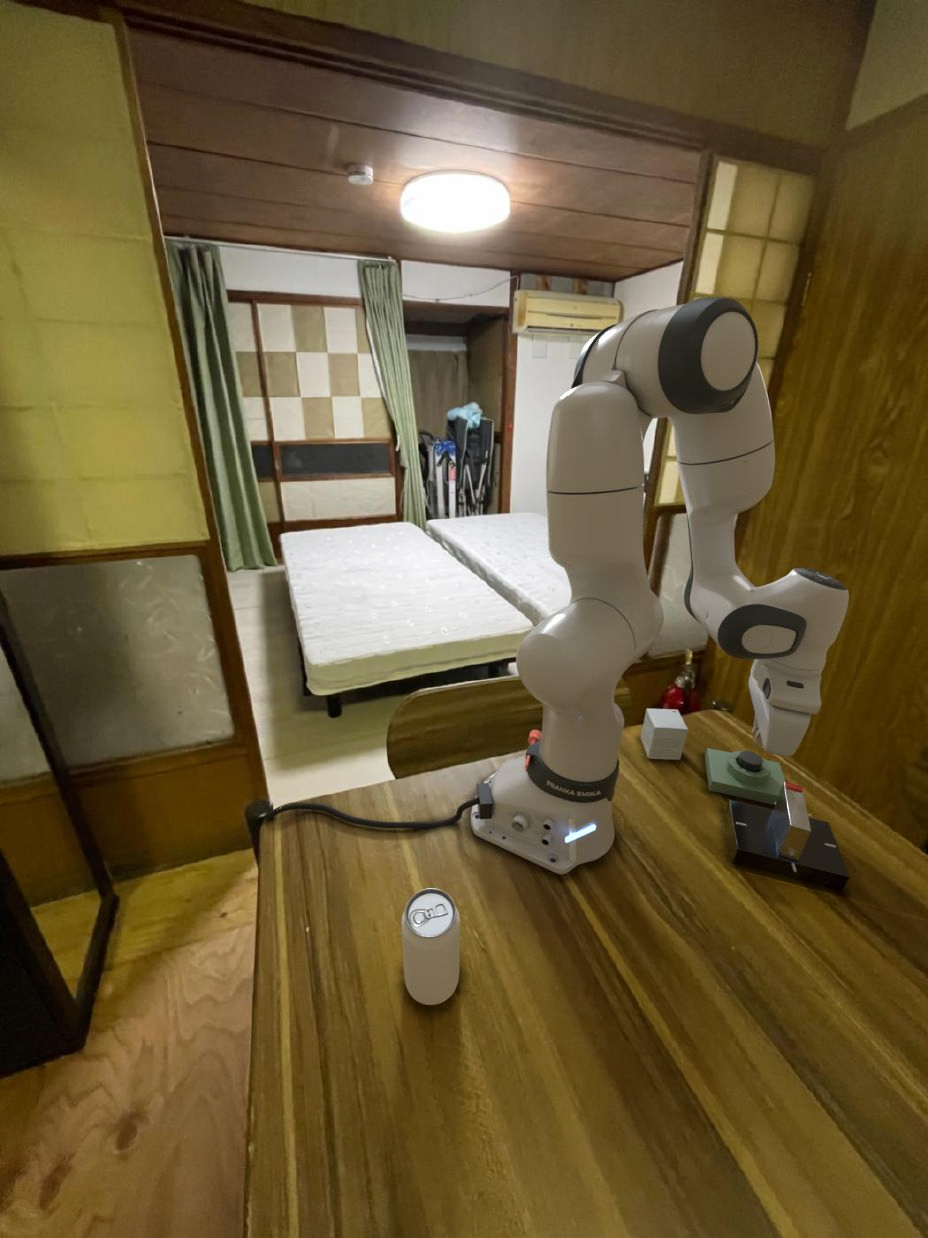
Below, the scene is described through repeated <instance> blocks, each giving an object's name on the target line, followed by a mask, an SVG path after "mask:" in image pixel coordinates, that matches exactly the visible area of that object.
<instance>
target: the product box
mask: <svg viewBox="0 0 928 1238" xmlns="http://www.w3.org/2000/svg"><path fill="white" fill-rule="evenodd" d="M645 709H646V710H645V714H644V718H643V724H642V728H641V733H640V740H641V743H642V745H643V747H644V750H645V754H646V757H647V758H648V759H649V760H651V759H653V760H673V761H680V760H681V758H682V755H683V750H684V747H685V743H686V739H687V736H688V731H689V728H688V727H687V725H686V723H685V720H684V718H683V716H682V714H681V712H680V711H679V709H671V708H670V709H669V708H647V707H646V708H645Z"/></svg>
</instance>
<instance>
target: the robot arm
mask: <svg viewBox="0 0 928 1238" xmlns="http://www.w3.org/2000/svg"><path fill="white" fill-rule="evenodd" d="M758 357H759V335H758V329H757V327H756V324H755V322H754V320H753V319H752V316H751V315H750V313H749V311H748V310H747V309H746V308H745V307H744V306H743V304H742V303H741V302H739V301H738V300H736V299H734V298H730V297H723V296H707V297H699V298H694V299H692V300H690V301H688V302H686V303H683V304H678V305H677V304H676V305H673V306H668V307H664V308H659V309H657V308H655V309H650V310H647V311H643V312H641V313H638V314H637V315H634V316H632V317H629V318H627V319H625V320H622V322H620V323H615V324H611V325H609V326H607V327H605V328H603V329H602V330H600V331H599V332H598V333H596V334H595V335H594V336H592V337H591V338H590V339H589V340H588V341H587V343H585V345H584V346H583V348H582V349H581V351H580V354H579V355H578V358H577V361H576V364H575V368H574V373H573V381H572V383H571V386H570V390H568V391H566V392H565V393H563V395H561V396H560V397H559V399H558V400H557V401H556V403H555V405H554V406H553V409H552V412H551V418H550V424H549V431H548V438H547V440H548V441H547V447H546V448H547V449H546V464H545V466H546V467H545V469H546V470H545V491H546V493H545V494H546V516H547V517H546V518H547V519H546V521H547V522H546V523H547V546H548V553H549V555H550V557H551V559H552V560H553V561H554V562H555V563H556V565H559V566H560V567H562V568H563V569H564V571H565V573H566V577H567V579H568V582H569V583H568V584H569V587H570V594H571V595H570V600H569V603H568V605H566V606H565V607H562V608H561V609H559V610H558V611H556V612H554V613H552V614H550V615H548V616H547V617H545V618H544V619H542V620H541V621H540V622H538V623H537V625H536V626H535V627H534V628H533V629H532V630H531V631H530V632H529V633H528V634H527V636H526V637H525V638H523V640H522V641H521V642H520V644H519V645H518V648H517V651H516V655H515V656H516V657H515V664H516V671H517V674H518V677H519V679H520V681H521V683H522V685H523V687H524V688H525V690H527V692H528V693H529V694H530V695H531V696H532V697H533V698H534V699H535V700H537V701H539V702H540V703H541V705H542V706H541V707H542V725H541V726H542V727H541V731H540V730H539V729H532V730H530V732H529V735H528V738H527V743H528V744H529V745H528V746H527V748H526V752H525V754H524V755H521V756H517V757H513V758H509V759H507V760H505V761H504V762H502V764H500V766H499V767H498V768H497V770H496V772H495V773H493V774H491V775H490V776H489V777H487V778H486V779H485V781H483V782H478V783H476V794H475V797H474V798H472V799H470V800H467V801H465V802H463V803H461V805H459V806H458V807H457V809H456V813H455V815H454V816H451V817H449V818H446V819H442V820H439V821H383V820H381V821H380V820H373V819H368V818H362V817H357V816H353V815H350V814H347V813H344V812H343V811H340V810H338V809H336V808H334V807H332V806H329V805H327V804H320V803H313V802H296V804H294V803H287V804H284V805H280V806H278V807H276V808H274V809H272V810H271V811H270V812H268V813H267V814H266V815H265V816H264V820H266V821H268V820H269V821H270V820H271V819H273V818H275V816H277V815H279V814H281V813H285V812H287V811H295V810H314V811H315V810H317V811H322V812H325V813H327V814H330V815H332V816H334V817H336V818H338V819H340V820H343V821H345V822H348V823H351V824H355V825H360V826H364V827H365V826H366V827H371V828H372V827H373V828H380V829H381V828H382V829H433V828H437V827H438V828H439V827H444V826H450V825H453V824H455V823H457V822H459V821H460V820H461V819H462V817H463V813H464V812H465V810H468V809H470V808H471V812H470V826H471V830H472V833H473V834H474V835H475V836H477V837H479V838H481V839H483V840H485V841H487V842H489V843H491V844H492V845H496V846H497V847H500V848H502V849H504V850H506V851H508V852H510V853H512V854H514V855H517V856H519V857H520V858H523V859H525V860H526V861H529V862H531V863H534V864H535V865H538V866H540V867H542V868H544V869H546V870H548V871H551V872H552V873H554V874H557V875H560V876H561V875H565V874H568V873H569V872H571V871H572V870H574V869H575V868H576V867H577V866H579V865H581V864H585V863H586V864H587V863H590V862H593V861H597V860H598V859H600V858H601V857H603V856H605V855H606V854H607V853H608V852H609V850H610V849H611V848H612V846H613V844H614V841H615V835H616V832H615V826H614V819H613V798H614V796H615V794H616V791H617V786H618V782H619V777H620V759H619V754H620V749H621V743H622V738H623V732H624V727H625V717H624V714H623V711H622V709H621V708H620V706H618V704H617V703H616V702H615V693H616V689H617V686H618V683H619V681H620V680H621V678H622V677H623V675H624V673H625V672H626V671H627V670H628V669H629V668H630V667H631V666H632V665H634V663H636V662H637V661H638V660H639V659H641V658H642V657H643V656H644V655H645V654H647V653H648V652H649V650H651V648H652V646H653V645H654V643H655V642H656V641H657V638H658V636H659V634H660V632H661V631H662V628H663V625H664V621H665V616H664V615H665V614H664V608H663V605H662V603H661V601H660V599H659V597H658V596H657V595H656V594H655V593H654V591H653V590H651V585H650V580H649V576H648V572H647V567H646V561H645V553H644V510H645V509H644V506H645V504H644V503H645V501H644V500H645V452H644V441H645V437H646V435H647V432H648V430H649V427H650V425H651V424H652V421H653V420H654V419H663V418H667V419H668V420H669V422H670V423H671V425H672V427H673V437H674V448H675V455H676V464H677V470H678V475H679V480H680V486H681V489H682V490H681V491H682V494H683V499H684V503H685V508H686V520H687V530H688V534H687V535H688V544H689V557H690V569H689V576H688V579H687V582H686V585H685V589H684V593H683V602H684V603H683V604H684V606H685V608H686V610H687V612H688V614H689V615H690V616H691V617H692V618H694V619H695V620H696V621H697V622H698V623H699V624H700V625H701V626H702V628H703V629H704V630H705V631H706V633H707V634H708V635H709V637H711V639H712V640H713V641H714V642H715V643H716V645H717V646H718V647H719V648H720V650H722V651H723V652H724V653H725V654H726V655H729V656H730V657H732V658H735V659H739V660H753V662H752V665H751V669H750V675H749V678H748V682H747V683H748V685H747V686H748V687H747V688H748V690H749V694H750V698H751V703H752V707H753V710H754V721H753V726H752V729H751V736H752V741H753V744H754V745H756V746H759V747H763V750H764V752H766V753H768V754H770V755H771V754H772V755H776V756H780V757H783V758H784V757H785V758H789V757H791V756H793V755H794V754H796V752H797V750H798V749H799V747H800V745H801V742H802V741H803V739H804V737H805V734H806V733H807V730H808V728H809V725H810V722H811V717H812V716H811V715H818V713H819V712H820V709H821V707H822V698H821V680H822V673H823V670H824V668H825V666H826V663H827V653H828V650H829V649H830V647H831V646H832V645H833V644H834V643H835V642H836V640H837V637H838V635H839V633H840V631H841V628H842V625H843V623H844V620H845V617H846V614H847V611H848V606H849V602H850V601H849V600H850V594H849V590H848V588H847V586H846V585H845V584H843V582H841V581H839V580H838V579H836V578H835V577H833V576H831V575H829V574H826V573H824V572H821V571H818V570H815V569H811V568H806V567H795V568H793V569H792V570H791V571H790V572H789V573H787V575H785V576H783V577H781V578H779V579H778V580H775V581H773V582H770V583H767V584H764V585H761V586H756V585H754V584H753V583H752V582H750V580H749V579H748V578H747V577H746V576H745V575H744V573H743V572H742V571H741V569H740V568H739V566H738V564H737V562H736V551H735V548H736V547H735V517H736V515H737V514H740V513H743V512H745V511H748V510H749V509H751V508H753V507H755V506H756V505H757V504H758V503H760V502H761V500H763V498H764V497H765V496H766V495H767V494H768V493H769V491H770V490H771V488H772V485H773V482H774V475H775V468H776V447H775V435H774V424H773V418H772V411H771V405H770V401H769V396H768V391H767V387H766V383H765V380H764V377H763V374H762V370H761V367H760V365H759V363H758ZM286 805H289V806H286ZM283 806H284V807H283ZM280 807H282V808H281V809H279V808H280ZM277 809H278V810H277Z"/></svg>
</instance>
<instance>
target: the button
mask: <svg viewBox="0 0 928 1238" xmlns="http://www.w3.org/2000/svg"><path fill="white" fill-rule="evenodd" d="M741 751H742V752H741V753H740V755H739V758H738V761H737V763H738V765H739V766H740V767H741V768H743V769H745V770H747V771H750V772H759V771H760V769H761V766H762V763H763V759H764V758H763V757H761V755H760V754H758V753H757V752H754V751H750V750H741ZM762 758H763V759H762Z"/></svg>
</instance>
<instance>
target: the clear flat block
mask: <svg viewBox="0 0 928 1238" xmlns="http://www.w3.org/2000/svg"><path fill="white" fill-rule="evenodd" d="M807 808H808V807H807V803H806V799H805V794H804V789H803V786H802V785H799V784H794V783H791V782H787V781H786V782H784V783H783V785H782V788H781V791H780V793H779V796H778V798H777V801H776V804H775V805H773V808H772V809H773V816H774V824H775V833H776V841H777V849H778V855H780V856H783V857H786V858H789V859H793V860H796V861H798V860H799V858H800V856H801V853H802V851H803V849H804V846H805V844H806V842H807V840H808V837H809V835H810V833H811V828H810V823H809V818H810V817H809V814H808V813H809V812H808V809H807Z"/></svg>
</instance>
